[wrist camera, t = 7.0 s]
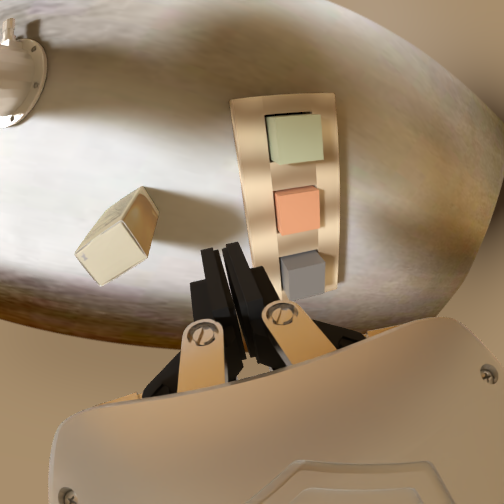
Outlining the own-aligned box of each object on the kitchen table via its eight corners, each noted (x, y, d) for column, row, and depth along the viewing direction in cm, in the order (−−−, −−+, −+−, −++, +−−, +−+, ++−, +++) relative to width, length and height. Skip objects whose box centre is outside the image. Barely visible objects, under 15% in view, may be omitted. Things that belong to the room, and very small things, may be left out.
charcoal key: (279, 255, 37) (288, 270, 34) (314, 248, 38) (325, 262, 35) (281, 285, 40) (289, 301, 36) (314, 278, 40) (324, 293, 37)
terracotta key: (270, 187, 34) (278, 196, 31) (307, 182, 35) (319, 190, 32) (273, 223, 37) (282, 235, 33) (308, 217, 37) (320, 228, 34)
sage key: (265, 117, 28) (274, 117, 25) (306, 113, 29) (320, 114, 26) (270, 159, 31) (279, 165, 28) (310, 154, 31) (323, 159, 28)
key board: (229, 100, 29) (232, 99, 26) (323, 93, 30) (334, 93, 27) (256, 295, 42) (261, 307, 40) (329, 278, 44) (336, 288, 41)
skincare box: (123, 236, 34) (98, 290, 23) (104, 209, 32) (70, 255, 21) (162, 211, 34) (149, 259, 23) (144, 183, 31) (121, 219, 21)
